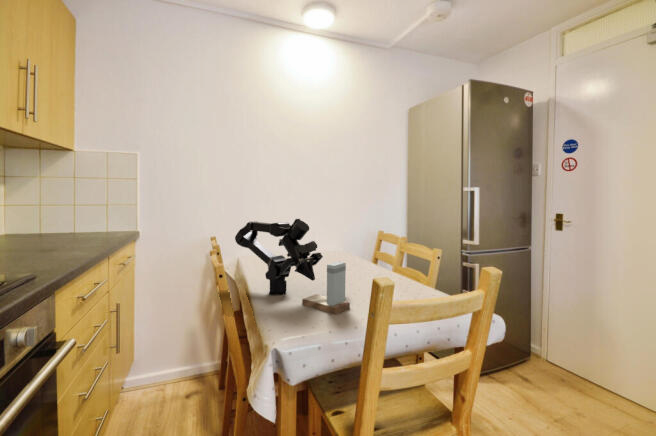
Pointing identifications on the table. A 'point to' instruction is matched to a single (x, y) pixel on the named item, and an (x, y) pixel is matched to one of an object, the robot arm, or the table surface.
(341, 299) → the grey tall block
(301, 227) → the robot arm
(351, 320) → the table surface
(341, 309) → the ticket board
